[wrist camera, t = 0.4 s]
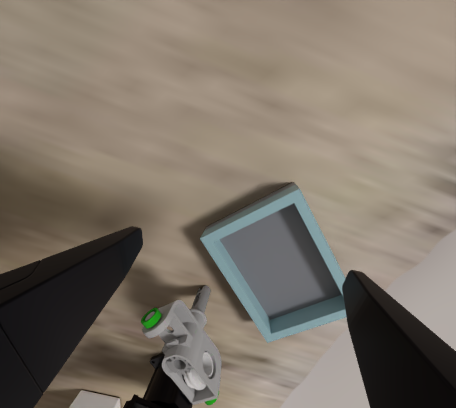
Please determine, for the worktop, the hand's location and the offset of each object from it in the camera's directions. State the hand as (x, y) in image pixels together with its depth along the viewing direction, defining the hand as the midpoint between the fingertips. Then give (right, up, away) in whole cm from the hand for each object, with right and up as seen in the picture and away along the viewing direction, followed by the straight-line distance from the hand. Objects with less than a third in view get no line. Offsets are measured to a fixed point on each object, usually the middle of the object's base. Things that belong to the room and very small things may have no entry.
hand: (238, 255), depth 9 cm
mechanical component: (-3, -9, +19) cm, 21 cm away
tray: (+5, -4, +16) cm, 17 cm away
